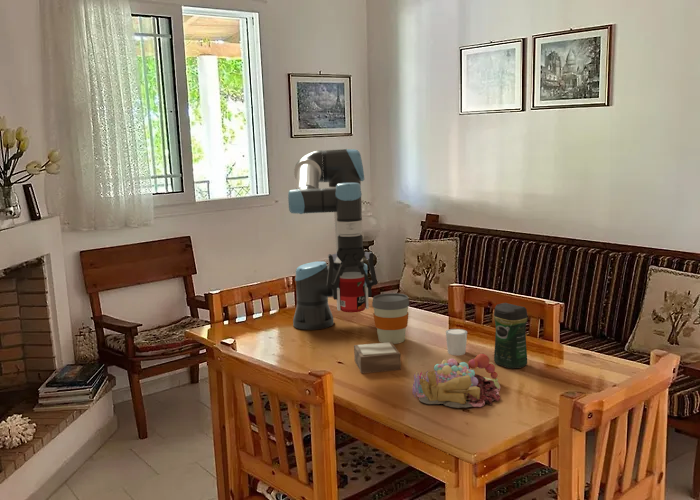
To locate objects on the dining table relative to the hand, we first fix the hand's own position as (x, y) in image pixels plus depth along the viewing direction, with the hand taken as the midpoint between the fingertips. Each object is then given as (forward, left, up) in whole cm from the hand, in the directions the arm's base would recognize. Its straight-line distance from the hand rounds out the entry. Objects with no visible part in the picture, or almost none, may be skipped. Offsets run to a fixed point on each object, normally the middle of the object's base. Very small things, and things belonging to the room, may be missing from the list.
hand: (352, 308), depth 208 cm
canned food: (0, 0, -1) cm, 1 cm away
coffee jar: (+12, +46, -18) cm, 50 cm away
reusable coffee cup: (-22, +17, -18) cm, 33 cm away
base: (+2, +7, -18) cm, 19 cm away
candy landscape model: (+29, +23, -18) cm, 42 cm away
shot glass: (-3, +34, -18) cm, 38 cm away
